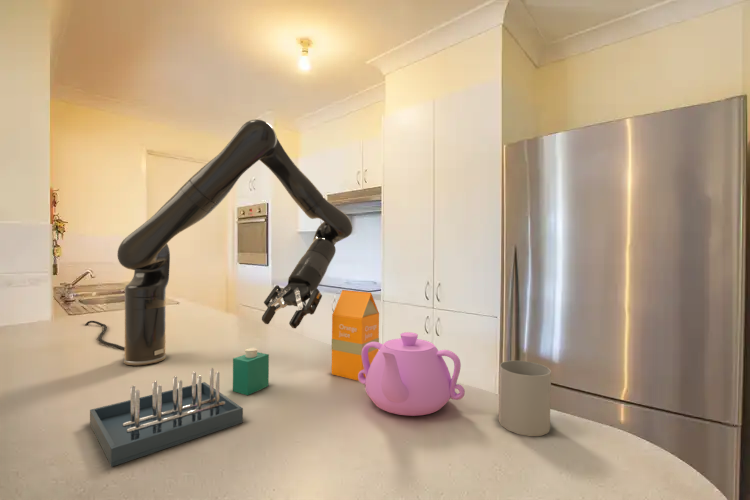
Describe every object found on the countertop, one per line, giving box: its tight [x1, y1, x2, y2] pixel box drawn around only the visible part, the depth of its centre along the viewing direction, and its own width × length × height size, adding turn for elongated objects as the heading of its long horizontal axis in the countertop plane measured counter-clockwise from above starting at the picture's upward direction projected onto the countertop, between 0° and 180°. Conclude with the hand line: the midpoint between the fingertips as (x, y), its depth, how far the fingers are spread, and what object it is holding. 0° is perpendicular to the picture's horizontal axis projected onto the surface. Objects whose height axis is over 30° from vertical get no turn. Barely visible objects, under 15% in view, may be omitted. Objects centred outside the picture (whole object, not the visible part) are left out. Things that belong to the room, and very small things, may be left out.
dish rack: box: [123, 367, 225, 441], centre depth 62 cm, size 3×15×9 cm, turn 135°
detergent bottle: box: [232, 347, 270, 396], centre depth 82 cm, size 4×6×8 cm
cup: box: [498, 360, 552, 437], centre depth 67 cm, size 8×8×10 cm
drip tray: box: [89, 381, 244, 468], centre depth 66 cm, size 17×19×3 cm
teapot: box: [357, 331, 466, 417], centre depth 73 cm, size 22×22×14 cm
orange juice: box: [331, 289, 380, 382], centre depth 93 cm, size 8×9×20 cm
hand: (278, 324), depth 89 cm, fingers open, 8 cm apart
